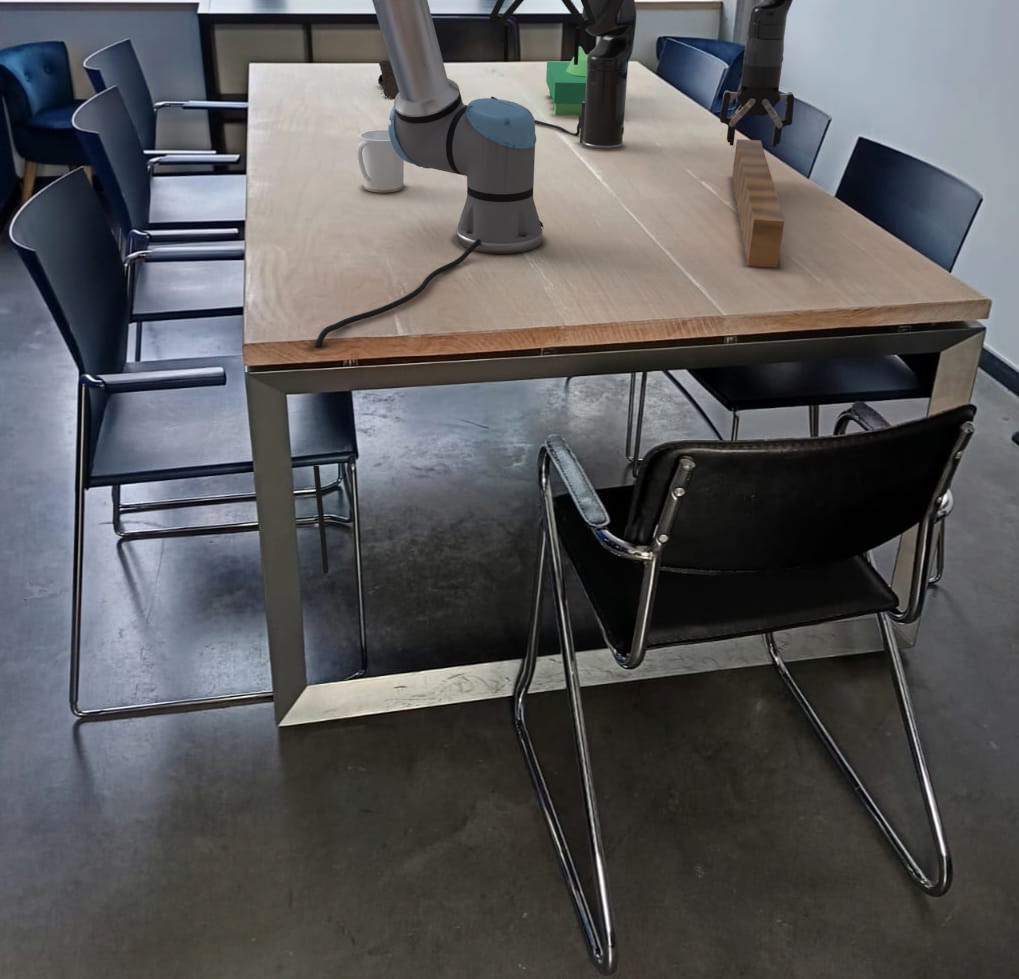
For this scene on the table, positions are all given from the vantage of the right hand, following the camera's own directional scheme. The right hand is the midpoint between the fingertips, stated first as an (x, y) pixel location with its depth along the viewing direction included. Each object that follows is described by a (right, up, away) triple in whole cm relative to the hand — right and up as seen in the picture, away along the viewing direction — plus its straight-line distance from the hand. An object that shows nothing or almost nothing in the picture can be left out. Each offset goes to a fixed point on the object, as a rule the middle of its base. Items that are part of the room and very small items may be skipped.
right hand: (752, 145), depth 223 cm
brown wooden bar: (-3, -18, -13) cm, 23 cm away
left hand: (-43, +13, -10) cm, 47 cm away
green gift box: (-30, +33, +69) cm, 82 cm away
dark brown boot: (-79, +39, +77) cm, 117 cm away
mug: (-76, -9, -2) cm, 76 cm away
